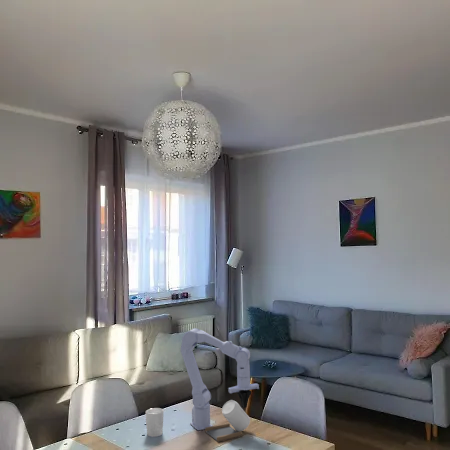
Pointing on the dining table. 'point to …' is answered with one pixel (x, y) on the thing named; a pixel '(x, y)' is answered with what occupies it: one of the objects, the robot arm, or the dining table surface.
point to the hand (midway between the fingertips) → (244, 407)
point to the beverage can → (235, 415)
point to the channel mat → (222, 432)
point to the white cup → (154, 422)
